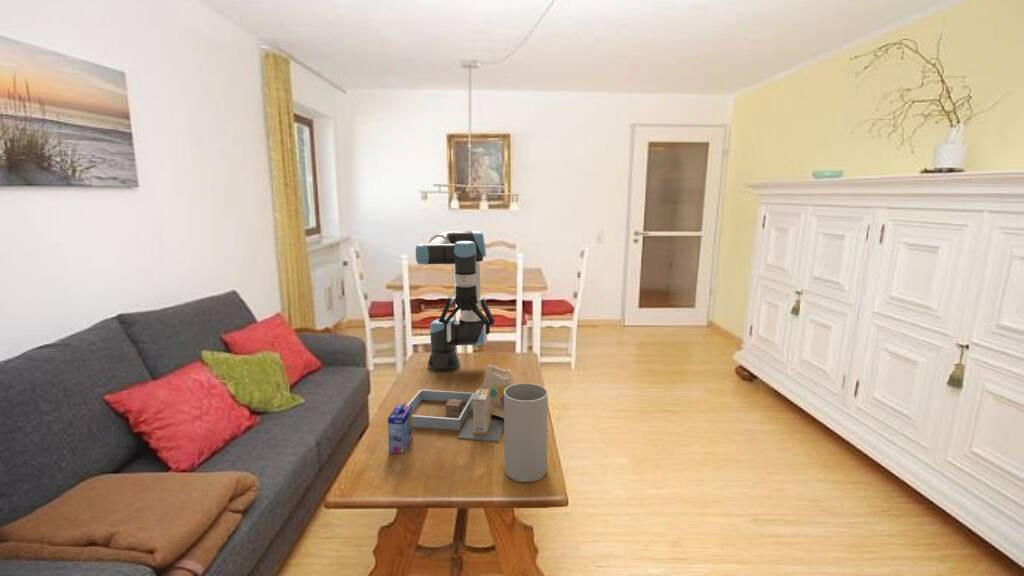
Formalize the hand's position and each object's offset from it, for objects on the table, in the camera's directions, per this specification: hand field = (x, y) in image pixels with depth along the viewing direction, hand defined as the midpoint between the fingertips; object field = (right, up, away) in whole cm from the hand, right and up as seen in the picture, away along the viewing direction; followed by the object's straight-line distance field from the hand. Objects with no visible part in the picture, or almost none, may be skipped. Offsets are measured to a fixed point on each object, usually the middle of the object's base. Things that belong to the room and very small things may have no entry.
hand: (467, 341), depth 170 cm
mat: (+6, -30, -8) cm, 32 cm away
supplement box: (+6, -30, -8) cm, 31 cm away
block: (-5, -28, +3) cm, 29 cm away
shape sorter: (+12, -27, +3) cm, 30 cm away
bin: (-11, -27, +4) cm, 30 cm away
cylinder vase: (+20, -35, -32) cm, 52 cm away
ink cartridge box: (-20, -32, -18) cm, 42 cm away
